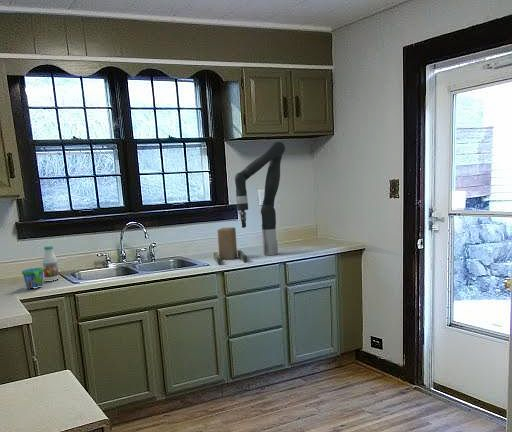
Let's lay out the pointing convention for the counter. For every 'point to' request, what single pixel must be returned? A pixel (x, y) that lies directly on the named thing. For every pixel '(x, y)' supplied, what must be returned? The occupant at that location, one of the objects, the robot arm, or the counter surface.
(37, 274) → the snack cup
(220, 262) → the lane
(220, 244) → the block
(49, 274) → the milk bottle
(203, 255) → the counter surface
